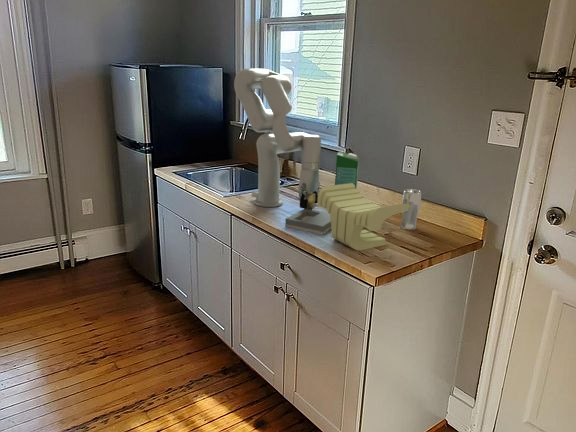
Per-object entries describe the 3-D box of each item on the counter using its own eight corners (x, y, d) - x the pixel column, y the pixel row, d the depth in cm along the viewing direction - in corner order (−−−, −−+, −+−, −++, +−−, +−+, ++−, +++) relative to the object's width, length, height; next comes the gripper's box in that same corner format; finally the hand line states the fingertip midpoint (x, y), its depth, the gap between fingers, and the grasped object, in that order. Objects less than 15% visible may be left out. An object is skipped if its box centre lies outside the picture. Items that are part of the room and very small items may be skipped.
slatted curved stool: (315, 232, 180) (318, 187, 175) (349, 226, 188) (352, 182, 183) (367, 260, 156) (372, 208, 150) (403, 252, 164) (409, 202, 158)
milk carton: (354, 213, 205) (358, 155, 198) (333, 211, 207) (336, 154, 199) (355, 207, 214) (359, 152, 206) (335, 205, 215) (338, 150, 208)
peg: (299, 214, 201) (300, 193, 198) (305, 211, 206) (306, 191, 203) (310, 216, 199) (311, 195, 196) (316, 213, 203) (317, 193, 200)
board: (285, 226, 186) (285, 218, 185) (304, 216, 199) (304, 208, 198) (322, 234, 179) (322, 226, 178) (339, 223, 192) (340, 215, 191)
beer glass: (407, 231, 185) (411, 194, 180) (395, 226, 191) (399, 189, 186) (421, 229, 188) (425, 192, 184) (409, 223, 194) (413, 188, 189)
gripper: (311, 161, 205) (310, 199, 210) (292, 167, 190) (290, 208, 195) (327, 163, 201) (325, 202, 206) (309, 170, 187) (307, 211, 192)
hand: (308, 205), depth 201 cm, fingers open, 9 cm apart
